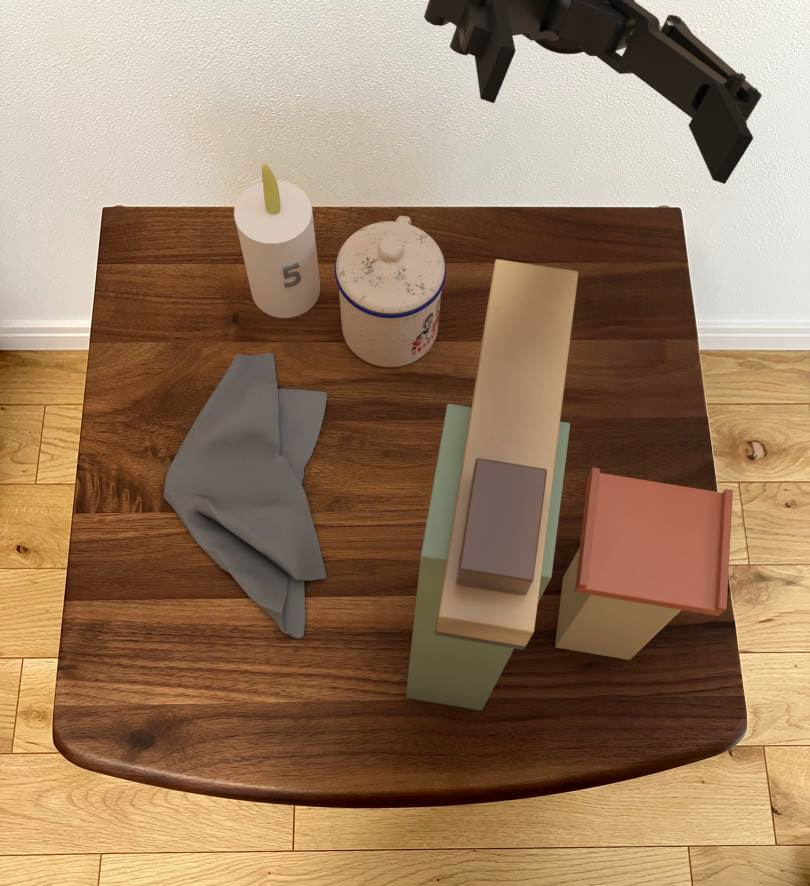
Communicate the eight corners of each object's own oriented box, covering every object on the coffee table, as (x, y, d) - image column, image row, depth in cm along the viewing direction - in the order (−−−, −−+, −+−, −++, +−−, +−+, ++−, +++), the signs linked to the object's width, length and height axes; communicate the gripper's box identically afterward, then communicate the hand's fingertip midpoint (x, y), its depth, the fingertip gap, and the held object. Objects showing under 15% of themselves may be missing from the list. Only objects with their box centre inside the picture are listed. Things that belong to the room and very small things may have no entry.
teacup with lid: (431, 379, 84) (438, 302, 73) (330, 362, 85) (322, 283, 74) (452, 267, 88) (462, 178, 78) (355, 252, 89) (351, 161, 78)
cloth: (178, 352, 85) (173, 338, 83) (334, 354, 85) (332, 340, 83) (150, 638, 76) (144, 631, 74) (325, 640, 76) (323, 632, 74)
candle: (265, 329, 86) (241, 218, 72) (241, 272, 88) (214, 153, 74) (331, 307, 87) (320, 193, 73) (306, 251, 89) (291, 129, 75)
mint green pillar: (495, 613, 77) (570, 422, 46) (481, 711, 74) (551, 578, 43) (422, 600, 77) (447, 402, 46) (405, 697, 74) (420, 556, 44)
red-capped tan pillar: (655, 580, 78) (733, 489, 61) (647, 675, 75) (726, 609, 58) (546, 562, 79) (592, 467, 61) (534, 656, 76) (579, 584, 58)
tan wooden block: (567, 307, 48) (587, 243, 44) (524, 650, 42) (541, 619, 37) (489, 295, 48) (500, 230, 44) (434, 635, 42) (440, 602, 38)
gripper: (702, 90, 69) (781, 249, 55) (373, -34, 63) (366, 110, 49) (762, -19, 64) (867, 127, 50) (410, -165, 58) (415, -46, 44)
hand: (619, 119), depth 49 cm, fingers open, 13 cm apart
